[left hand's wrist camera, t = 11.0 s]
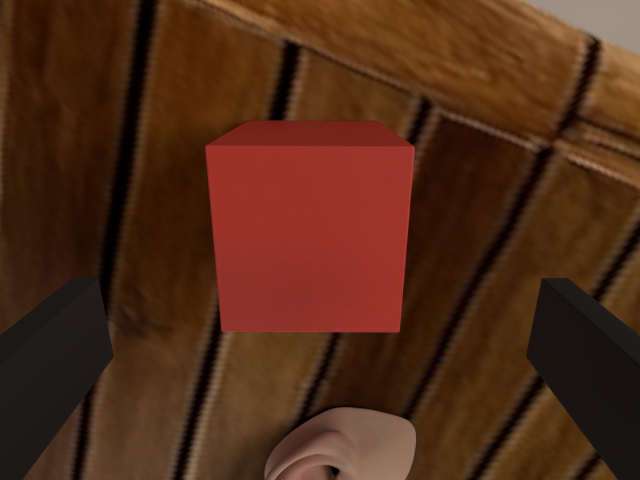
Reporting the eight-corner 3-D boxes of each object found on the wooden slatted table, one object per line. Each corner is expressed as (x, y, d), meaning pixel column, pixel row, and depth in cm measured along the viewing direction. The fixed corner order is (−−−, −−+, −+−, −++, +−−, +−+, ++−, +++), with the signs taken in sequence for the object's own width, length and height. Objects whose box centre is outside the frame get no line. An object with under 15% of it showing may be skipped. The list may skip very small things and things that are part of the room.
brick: (379, 120, 26) (415, 146, 16) (372, 247, 29) (399, 332, 19) (247, 120, 26) (204, 145, 16) (254, 247, 29) (221, 332, 19)
